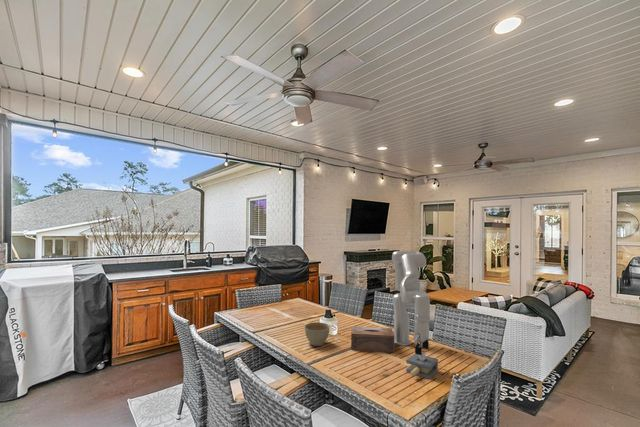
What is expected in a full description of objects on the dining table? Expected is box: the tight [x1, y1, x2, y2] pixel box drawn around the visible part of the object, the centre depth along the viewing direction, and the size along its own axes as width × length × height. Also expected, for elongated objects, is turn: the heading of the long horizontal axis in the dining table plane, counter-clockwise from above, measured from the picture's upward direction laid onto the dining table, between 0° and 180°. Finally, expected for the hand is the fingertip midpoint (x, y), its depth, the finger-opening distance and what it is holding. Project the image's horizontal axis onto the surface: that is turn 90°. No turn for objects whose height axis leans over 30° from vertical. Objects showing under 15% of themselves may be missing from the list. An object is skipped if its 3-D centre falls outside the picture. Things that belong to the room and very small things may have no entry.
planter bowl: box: [304, 321, 331, 347], centre depth 199 cm, size 16×16×11 cm
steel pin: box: [419, 350, 426, 362], centre depth 162 cm, size 3×3×10 cm
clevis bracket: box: [405, 353, 439, 380], centre depth 159 cm, size 12×18×6 cm, turn 141°
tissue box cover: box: [350, 325, 395, 353], centre depth 195 cm, size 26×14×10 cm, turn 83°
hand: (421, 351), depth 162 cm, fingers open, 9 cm apart
